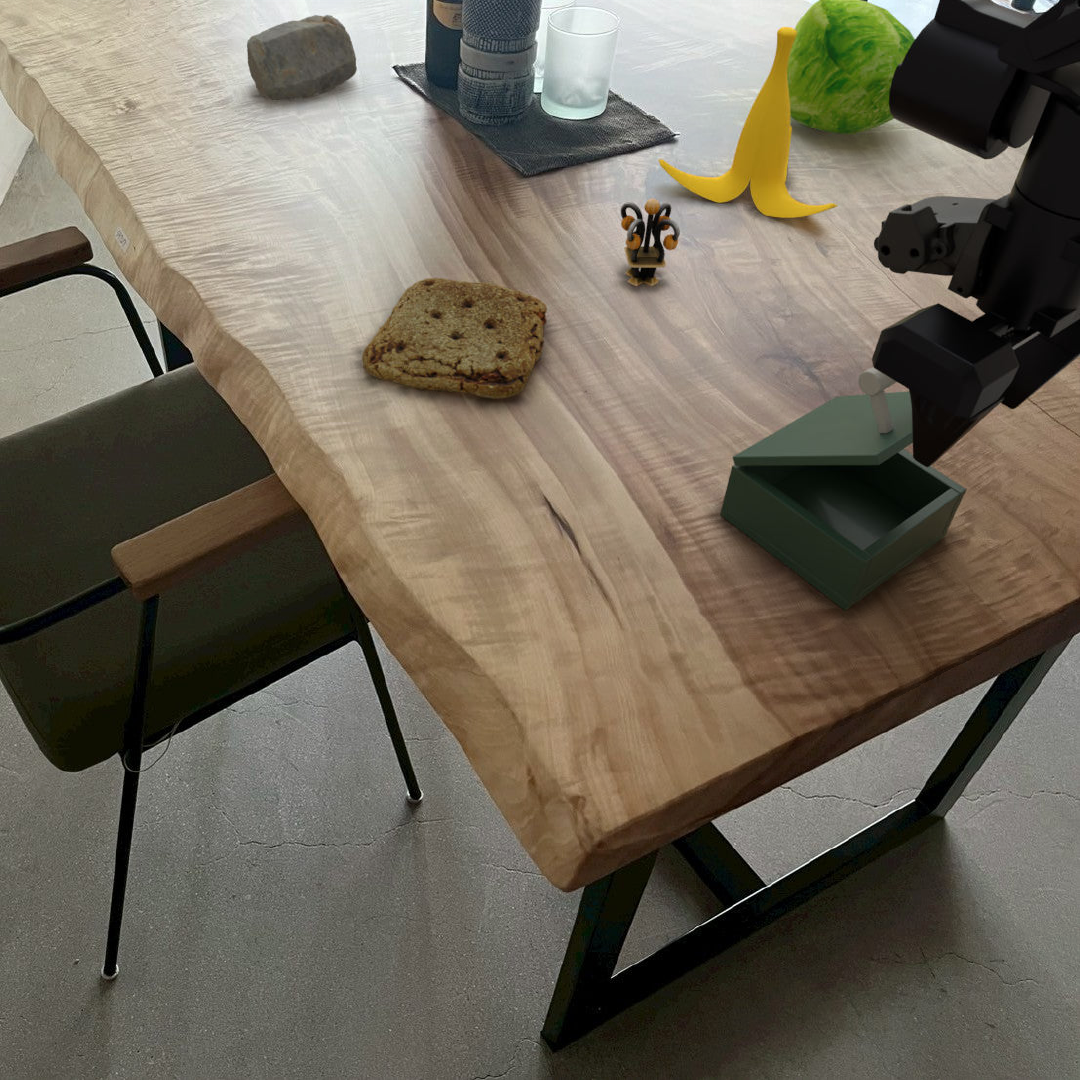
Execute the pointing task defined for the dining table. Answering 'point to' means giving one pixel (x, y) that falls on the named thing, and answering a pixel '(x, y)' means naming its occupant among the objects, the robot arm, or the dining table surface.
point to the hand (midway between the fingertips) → (966, 432)
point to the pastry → (459, 338)
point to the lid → (841, 430)
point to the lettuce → (845, 65)
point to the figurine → (647, 240)
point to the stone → (301, 58)
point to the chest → (843, 518)
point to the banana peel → (760, 149)
